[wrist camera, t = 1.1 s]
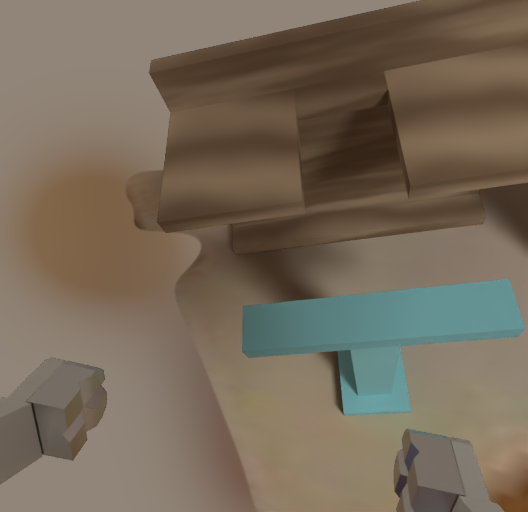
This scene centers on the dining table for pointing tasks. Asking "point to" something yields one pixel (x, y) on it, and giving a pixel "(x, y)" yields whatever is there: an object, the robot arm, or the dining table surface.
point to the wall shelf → (348, 125)
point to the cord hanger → (381, 333)
